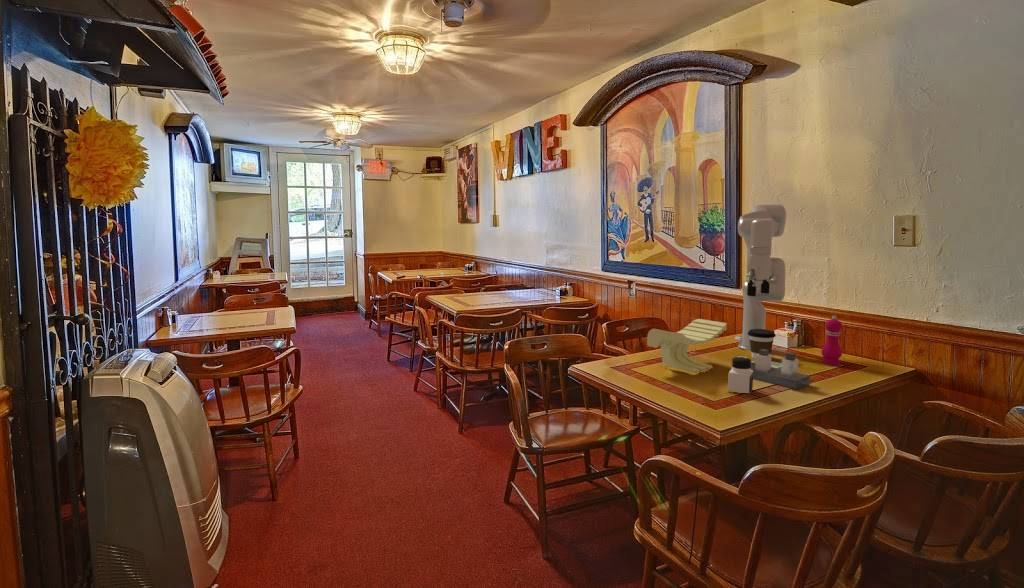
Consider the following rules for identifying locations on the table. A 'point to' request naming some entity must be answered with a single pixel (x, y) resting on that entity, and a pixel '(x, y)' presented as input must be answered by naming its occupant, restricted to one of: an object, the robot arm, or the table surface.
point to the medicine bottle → (740, 375)
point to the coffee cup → (760, 340)
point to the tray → (773, 364)
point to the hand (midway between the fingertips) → (758, 294)
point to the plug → (763, 360)
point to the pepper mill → (832, 342)
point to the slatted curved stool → (685, 343)
